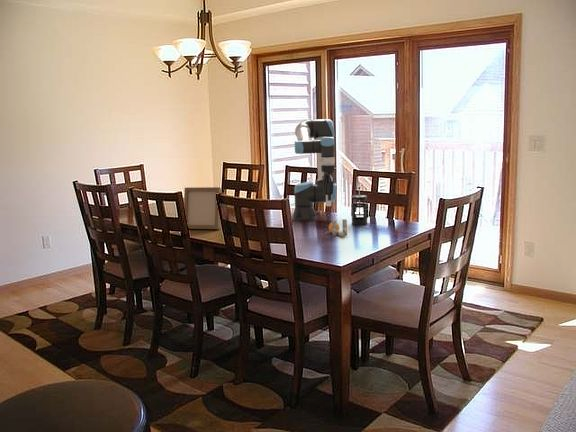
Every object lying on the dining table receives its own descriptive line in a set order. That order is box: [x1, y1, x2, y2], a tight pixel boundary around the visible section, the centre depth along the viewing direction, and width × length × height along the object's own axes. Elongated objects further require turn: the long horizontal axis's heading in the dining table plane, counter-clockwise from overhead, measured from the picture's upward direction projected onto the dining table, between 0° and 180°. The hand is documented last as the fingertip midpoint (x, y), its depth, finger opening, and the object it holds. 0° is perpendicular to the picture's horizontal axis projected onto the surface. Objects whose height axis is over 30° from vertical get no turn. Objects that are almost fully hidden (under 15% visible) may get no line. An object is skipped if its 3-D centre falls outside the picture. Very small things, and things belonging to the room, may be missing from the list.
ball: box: [328, 222, 340, 233], centre depth 311 cm, size 6×6×6 cm
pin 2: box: [341, 218, 348, 236], centre depth 304 cm, size 2×2×8 cm
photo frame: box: [183, 186, 222, 230], centre depth 335 cm, size 15×22×25 cm
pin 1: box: [331, 219, 338, 237], centre depth 303 cm, size 2×2×8 cm
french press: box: [351, 185, 369, 226], centre depth 331 cm, size 12×9×23 cm
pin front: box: [337, 230, 346, 238], centre depth 303 cm, size 2×2×8 cm
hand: (328, 205), depth 317 cm, fingers closed
